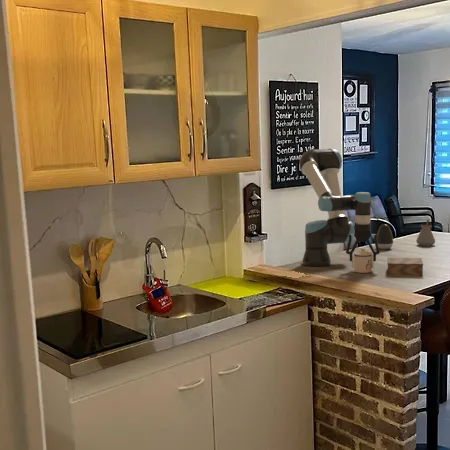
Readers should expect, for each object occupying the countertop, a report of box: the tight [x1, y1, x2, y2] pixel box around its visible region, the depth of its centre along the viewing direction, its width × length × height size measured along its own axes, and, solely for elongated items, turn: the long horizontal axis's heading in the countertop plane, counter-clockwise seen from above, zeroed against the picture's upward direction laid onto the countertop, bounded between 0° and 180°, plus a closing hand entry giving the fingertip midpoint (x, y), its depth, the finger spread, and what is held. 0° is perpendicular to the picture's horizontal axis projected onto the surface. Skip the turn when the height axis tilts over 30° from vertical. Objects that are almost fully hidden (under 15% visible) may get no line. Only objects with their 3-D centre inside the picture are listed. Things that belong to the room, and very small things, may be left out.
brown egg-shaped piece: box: [376, 223, 394, 250], centre depth 361 cm, size 10×10×15 cm
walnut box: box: [387, 257, 424, 277], centre depth 289 cm, size 16×16×6 cm
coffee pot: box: [415, 219, 436, 247], centre depth 373 cm, size 21×12×15 cm, turn 156°
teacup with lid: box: [353, 247, 373, 274], centre depth 294 cm, size 12×9×12 cm
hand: (362, 267), depth 295 cm, fingers closed on teacup with lid, 9 cm apart
